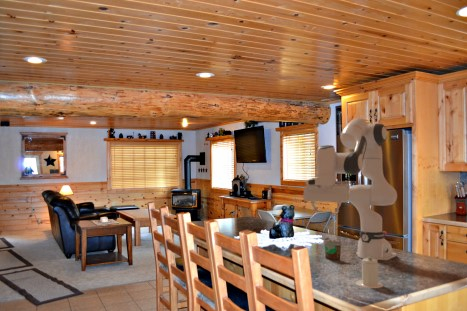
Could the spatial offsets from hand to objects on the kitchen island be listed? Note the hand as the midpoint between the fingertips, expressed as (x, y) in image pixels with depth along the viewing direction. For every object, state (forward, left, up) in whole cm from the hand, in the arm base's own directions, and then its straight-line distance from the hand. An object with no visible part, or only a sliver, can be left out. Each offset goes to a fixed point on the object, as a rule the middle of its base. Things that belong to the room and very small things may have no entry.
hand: (326, 211), depth 184 cm
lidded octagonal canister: (-3, +20, -28) cm, 35 cm away
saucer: (-3, +20, -29) cm, 35 cm away
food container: (-28, -20, -29) cm, 45 cm away
